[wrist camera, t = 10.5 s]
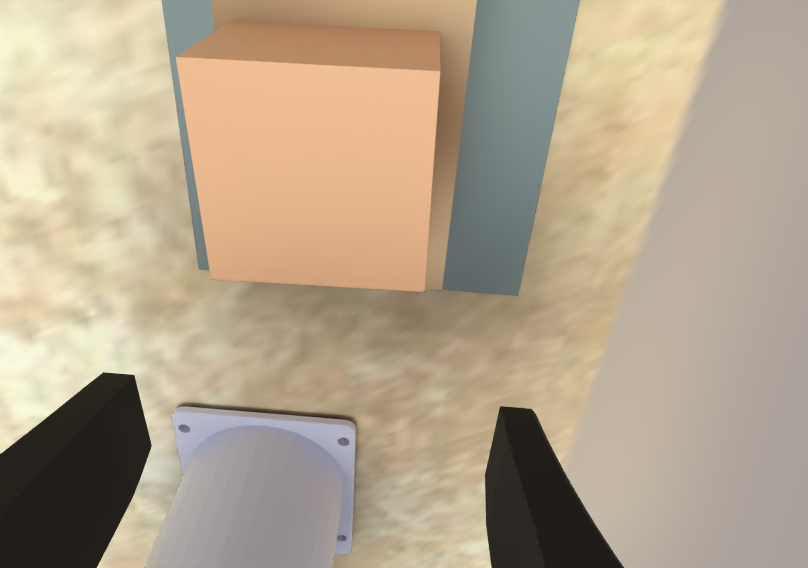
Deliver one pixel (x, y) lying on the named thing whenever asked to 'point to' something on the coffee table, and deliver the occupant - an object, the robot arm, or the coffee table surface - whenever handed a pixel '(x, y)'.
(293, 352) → the coffee table surface
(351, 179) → the carton
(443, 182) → the tan rectangular block
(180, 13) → the dock
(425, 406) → the coffee table surface
